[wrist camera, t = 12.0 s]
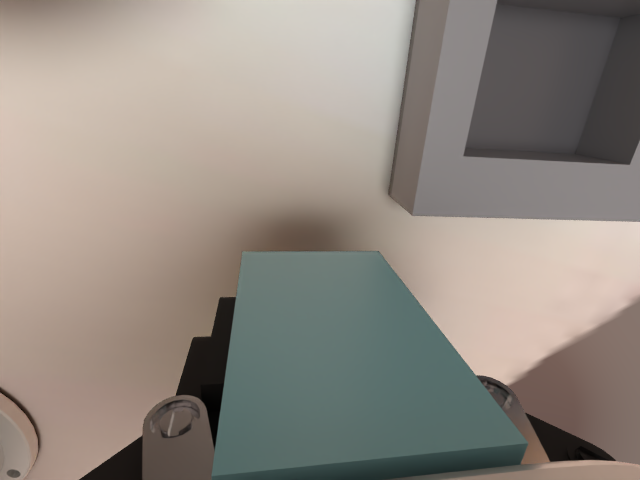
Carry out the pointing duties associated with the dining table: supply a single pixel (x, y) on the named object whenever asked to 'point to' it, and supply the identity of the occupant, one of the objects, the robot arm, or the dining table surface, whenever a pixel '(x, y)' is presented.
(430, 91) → the socket housing
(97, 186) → the dining table surface
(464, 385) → the teal rectangular block
